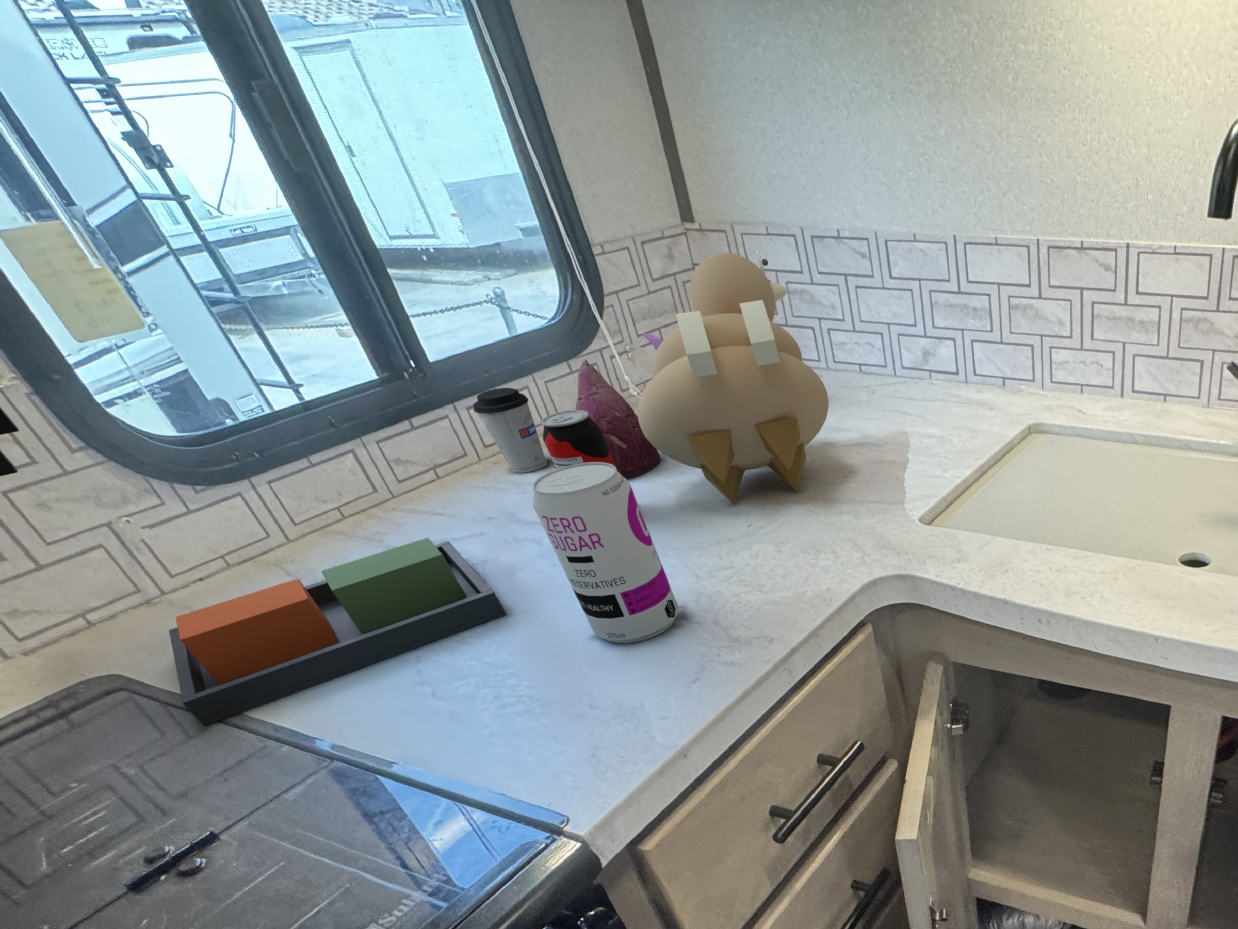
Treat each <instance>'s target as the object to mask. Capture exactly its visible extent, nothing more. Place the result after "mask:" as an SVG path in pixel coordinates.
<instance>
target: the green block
mask: <svg viewBox="0 0 1238 929" xmlns="http://www.w3.org/2000/svg"><path fill="white" fill-rule="evenodd" d="M435 545H436V544H434V542H432V540H431V539H430V538H429V537H425V538H421V539H419V540H416V541H412V542H410V543H406V544H403V545H399V546H396V547H392V548H390V549H386V550H384V551H380V552H377V553H374V554H371V555H368V556H365V557H364V556H363V557H362V558H358V559H354V560H352V561H348V562H345V563H342V564H339V565H336V566H333V567H329V568H326V569H323V570H321V574H322V576H323V577H324V580H326V581H327V583H328V585H329V587H330V588H331V590H332V592H333V593H334V595H335V596H336V597H337V599H338V600H339V602H340V603H341V605H342V606H343V608H344V609H345V610H346V612H347V613H348V615H349V616H350V618H351V619H352V621H353V622H354V623H355V625H356V626H357V628H358V629H359V631H360V632H361V633H362V634H364V633H367V632H370V631H373V630H376V629H378V628H381V627H384V626H387V625H390V624H393V623H395V622H398V621H401V620H404V619H407V618H410V617H412V616H415V615H418V614H421V613H424V612H427V611H429V610H432V609H435V608H438V607H441V606H444V605H447V604H449V603H452V602H455V601H458V600H461V599H464V598H466V597H467V596H466V594H465V593H464V591H463V589H462V587H461V586H460V584H459V582H458V580H457V579H456V577H455V575H454V573H453V572H452V570H451V568H450V567H449V565H448V563H447V561H446V560H445V558H444V556H443V555H442V553H441V552H440V551H439V550H438V549H437V547H436V546H435Z"/></svg>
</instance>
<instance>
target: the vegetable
mask: <svg viewBox="0 0 1238 929" xmlns="http://www.w3.org/2000/svg"><path fill="white" fill-rule="evenodd" d="M574 410H584V411H587V412H588V414H589V417H590V418H591V419H592V420H593V421H594V422H595V423H596V424H597V425H598V426H599V427H600V429H601V432H602V435H603V437H604V440H605V442H606V445H607V447H608V450H609V452H610V455H611V457H612V460H613V462H614V465H615V467H616V469H617V471H618V472H619V473H620V474H621V475H622V476H623V477H624V478H625V479H626V480H628V479H631V478H634V477H637V476H641V475H643V474H645V473H647V472H649V471H652V469H653V468H655V467H656V466H658V465H659V463H660V462H661V459H662V457H661V455H660V451H658V450H657V449H656V448H655V447H654V446H653V445H652V444H651V443H650V442H649V441H648V439H647V438H646V437H645V436H644V433H643V431H642V429H641V427H640V424H639V420H638V414H637V413H635V411H634V409H633V408H632V406H631V405H630V404H629V403H628V401H627V400H626V399H625V397H623V396H622V395H621V394H620V393H619V392H618V391H617V390H616V389H615V388H614V387H613V386H612V385H611V384H609V383H608V381H607V380H606V379H605V378H604V377H603V375H601V373H600V372H599V371H598V370H597V369H596V367H594V366H593V365H592V364H590V363H589V362H588V359H584V360H583V361H582V362H581V365H580V366H579V369H578V372H577V399H576V404H575V409H574Z"/></svg>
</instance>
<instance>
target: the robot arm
mask: <svg viewBox="0 0 1238 929" xmlns="http://www.w3.org/2000/svg"><path fill="white" fill-rule="evenodd" d="M19 431H20V429H19V427H18V426H17V425H16V424H15V422H14V421H13V420H12V419H11V418H10V416H9V415H8V414H7V413H6V412H5V411H4V409H3V408H2V407H1V406H0V436H2V435H7V434H12V433H18V432H19ZM18 472H19V470H18V469H17V467H16V466H15V464H13V463H12V462H11V460H10V459H9V458H8V457H7V455H6V454H5V453H4V452H3V450H1V449H0V477H4V476H8V475H13V474H17V473H18Z"/></svg>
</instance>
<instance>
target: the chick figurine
mask: <svg viewBox="0 0 1238 929" xmlns="http://www.w3.org/2000/svg"><path fill="white" fill-rule="evenodd" d="M755 253H756V257H757V261H758V264H759V266H758V265H757V264H756V263H754V262H753V261H751V260H750V259H749V258H746V257H744V256H742V255H739V254H736V253H731V252H730V253H729V252H724V253H723V252H722V253H721V252H720V253H716V254H713V255H710V256H708V257H706V258H704V259H703V260H702V261H701V262H700V264H699V265H697V267H696V268H695V270H694V272H693V274H692V276H691V279H690V285H689V298H690V302H691V307H692V310H693V311H687V312H680V313H676V314H675V316H676V320H677V324H678V327H677V328H675V329H674V330H673V331H671V332H670V333H669V334H668V335H666V337H665V338H664V339H663V340H662V343H661V344H660V346H659V347H658V349H657V352H656V351H655V354H654V358H653V366H652V367H653V373H654V376H653V377H652V378H651V379H650V381H649V382H648V383H647V384H646V386H645V388H644V389H643V391H642V393H641V395H640V397H639V401H638V404H637V405H638V406H637V416H638V420H639V424H640V427H641V429H642V431H643V433H644V436H645V437H646V438H647V439H648V441H649V442H650V443H651V444H652V445H653V446H654V447H655V448H656V449H657V450H658V452H659V453H661V454H662V455H664V456H666V457H667V458H669V459H671V460H672V461H675V462H678V463H679V464H682V465H684V466H685V465H686V466H687V467H691V468H695V469H700V470H701V471H702V473H703V476H704V478H705V479H706V480H707V481H708V482H709V483H710V484H712V486H714V488H715V489H717V490H718V491H719V492H720V493H721V494H722V496H724V497H725V498H726V499H727V500H728V501H729V502H730V503H731V504H734V502H735V499H736V496H737V494H738V490H739V487H740V485H741V482H742V479H743V477H744V473H745V471H748V470H755V469H759V468H763V467H767V466H768V467H769V469H771V470H772V471H773V472H774V473H776V475H777V476H779V477H780V479H782V480H783V481H784V482H785V483H786V484H787V485H788V486H789V487H790V488H791V489H792V490H794V491H795V492H797V490H798V486H799V483H800V480H801V476H802V474H803V470H804V466H805V464H806V460H807V456H806V449H805V447H807V446H808V445H809V444H810V443H811V441H813V440H814V439H815V438H816V437H817V435H818V434H820V431H821V429H822V428H823V427H824V424H825V422H826V420H827V417H828V413H829V406H830V405H829V404H830V403H829V402H830V401H829V395H828V392H827V389H826V388H827V387H826V386H825V384H824V382H823V380H822V379H821V377H819V375H818V373H816V372H815V371H814V370H813V368H811V367H810V366H809V365H808V364H806V363H805V362H803V354H802V352H801V348H800V346H799V344H798V342H797V341H796V339H795V338H794V337H793V336H792V334H790V332H788V331H787V330H786V329H785V328H784V327H782V326H780V325H778V324H777V323H776V322H773V321H774V317H775V313H776V302H779V301H780V300H782V299H783V298H784V297H785V296H786V295H787V293H788V288H787V287H786V286H785V285H783V284H780V283H778V282H773V281H769V279H768V277H767V276H766V272H765V268H764V267H767V266H768V265H769V261H768V259H767V258H761V254H760V251H759V250H756V251H755Z"/></svg>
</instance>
